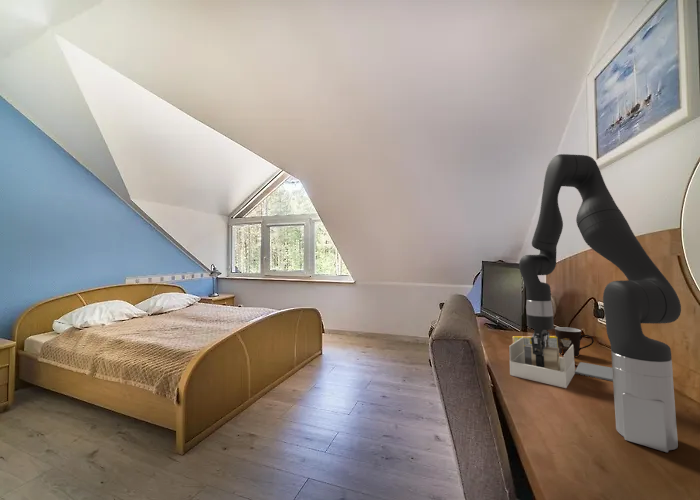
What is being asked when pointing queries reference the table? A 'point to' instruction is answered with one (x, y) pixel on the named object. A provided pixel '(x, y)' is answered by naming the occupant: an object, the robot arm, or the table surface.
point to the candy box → (527, 340)
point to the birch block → (549, 357)
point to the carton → (539, 373)
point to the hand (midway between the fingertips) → (542, 364)
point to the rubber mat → (595, 371)
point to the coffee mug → (570, 339)
